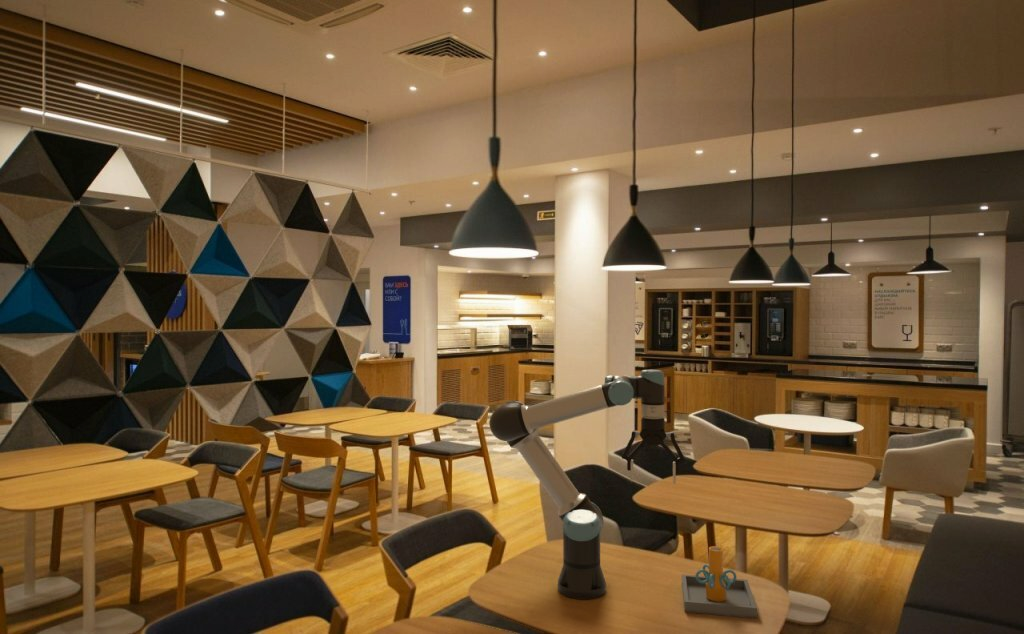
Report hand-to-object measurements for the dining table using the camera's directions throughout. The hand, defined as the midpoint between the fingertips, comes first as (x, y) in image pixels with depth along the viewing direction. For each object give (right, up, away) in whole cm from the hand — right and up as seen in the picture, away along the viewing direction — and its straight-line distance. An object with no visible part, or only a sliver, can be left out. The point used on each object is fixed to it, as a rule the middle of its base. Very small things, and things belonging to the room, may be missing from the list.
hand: (652, 481), depth 211 cm
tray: (+16, -32, -17) cm, 39 cm away
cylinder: (+15, -31, -17) cm, 39 cm away
